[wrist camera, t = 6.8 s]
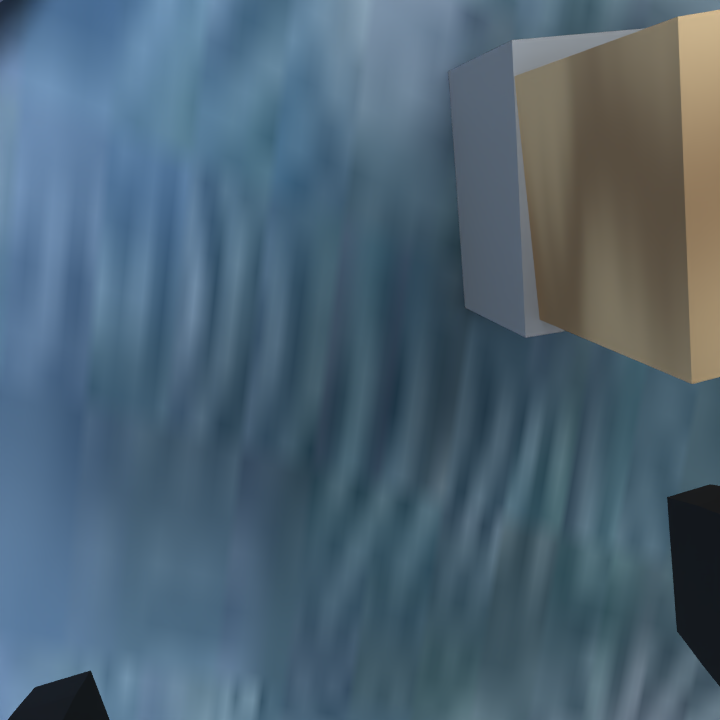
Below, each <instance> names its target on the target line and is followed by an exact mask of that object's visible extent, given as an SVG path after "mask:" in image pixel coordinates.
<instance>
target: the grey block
mask: <svg viewBox="0 0 720 720" xmlns="http://www.w3.org/2000/svg"><path fill="white" fill-rule="evenodd" d="M645 29H646V28H645ZM640 30H643V29H633V30H622V31H610V32H599V33H588V34H576V35H565V36H553V37H542V38H530V39H519V40H511V41H509V42H507V43H505V44H503V45H501V46H499V47H497V48H495V49H493V50H491V51H489V52H487V53H485V54H483V55H481V56H479V57H476V58H474V59H472V60H470V61H468V62H466V63H464V64H462V65H460V66H458V67H456V68H454V69H452V70H450V71H448V74H449V88H450V102H451V117H452V131H453V145H454V159H455V173H456V187H457V202H458V216H459V230H460V244H461V258H462V272H463V287H464V301H465V308H467V309H469V310H471V311H473V312H475V313H477V314H479V315H481V316H483V317H485V318H487V319H489V320H491V321H493V322H495V323H497V324H499V325H501V326H503V327H505V328H507V329H509V330H511V331H513V332H515V333H517V334H519V335H521V336H523V337H525V338H527V337H533V336H539V335H545V334H551V333H557V332H563V331H565V330H563V329H561V328H558V327H556V326H554V325H551V324H549V323H546V322H544V321H542V320H540V318H539V308H538V298H537V289H536V279H535V269H534V260H533V250H532V241H531V231H530V221H529V212H528V202H527V193H526V183H525V173H524V164H523V154H522V144H521V135H520V125H519V116H518V106H517V96H516V87H515V77H514V76H516V75H519V74H522V73H525V72H527V71H530V70H533V69H536V68H538V67H541V66H544V65H547V64H549V63H552V62H555V61H558V60H560V59H563V58H566V57H569V56H571V55H574V54H577V53H580V52H582V51H585V50H588V49H591V48H593V47H596V46H599V45H602V44H604V43H607V42H610V41H613V40H615V39H618V38H621V37H624V36H626V35H629V34H632V33H635V32H637V31H640Z"/></svg>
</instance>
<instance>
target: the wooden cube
mask: <svg viewBox="0 0 720 720" xmlns="http://www.w3.org/2000/svg"><path fill="white" fill-rule="evenodd" d="M514 77H515V87H516V96H517V106H518V116H519V125H520V135H521V144H522V154H523V164H524V173H525V183H526V193H527V202H528V212H529V221H530V231H531V241H532V250H533V260H534V269H535V279H536V289H537V298H538V308H539V318H540V320H542V321H544V322H546V323H549V324H551V325H554V326H556V327H558V328H561V329H563V330H565V331H568V332H570V333H573V334H575V335H577V336H580V337H582V338H584V339H587V340H589V341H591V342H594V343H596V344H599V345H601V346H603V347H606V348H608V349H610V350H613V351H615V352H617V353H620V354H622V355H625V356H627V357H629V358H632V359H634V360H636V361H639V362H641V363H643V364H646V365H648V366H651V367H653V368H655V369H658V370H660V371H662V372H665V373H667V374H669V375H672V376H674V377H677V378H679V379H681V380H684V381H686V382H688V383H691V384H694V383H698V382H702V381H706V380H709V379H713V378H717V377H720V10H716V11H710V12H704V13H698V14H692V15H686V16H679V17H676V18H673V19H670V20H668V21H665V22H662V23H659V24H657V25H654V26H651V27H648V28H646V29H643V30H640V31H637V32H635V33H632V34H629V35H626V36H624V37H621V38H618V39H615V40H613V41H610V42H607V43H604V44H602V45H599V46H596V47H593V48H591V49H588V50H585V51H582V52H580V53H577V54H574V55H571V56H569V57H566V58H563V59H560V60H558V61H555V62H552V63H549V64H547V65H544V66H541V67H538V68H536V69H533V70H530V71H527V72H525V73H522V74H519V75H516V76H514Z"/></svg>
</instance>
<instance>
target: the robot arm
mask: <svg viewBox="0 0 720 720" xmlns="http://www.w3.org/2000/svg"><path fill="white" fill-rule="evenodd" d="M667 501H668V515H669V528H670V542H671V556H672V569H673V583H674V596H675V610H676V624H677V632H678V633H679V634H680V636H681V637H682V638H683V640H684V641H685V642H686V643H687V645H688V646H689V647H690V649H691V650H692V651H693V653H694V654H695V655H696V657H697V658H698V659H699V661H700V662H701V663H702V665H703V666H704V667H705V669H706V670H707V671H708V672H709V674H710V675H711V676H712V677H713V679H714V680H715V681H716V682H717V684H718V685H719V686H720V486H716V485H706V486H703V487H700V488H696V489H693V490H690V491H687V492H683V493H680V494H677V495H673V496H670V497H667ZM8 720H109V717H108V715H107V712H106V709H105V707H104V704H103V701H102V699H101V696H100V694H99V691H98V688H97V686H96V683H95V680H94V678H93V675H92V673H91V671H88V672H84V673H81V674H78V675H74V676H71V677H68V678H64V679H61V680H58V681H54V682H51V683H48V684H44V685H41V686H38V687H35V688H34V689H33V690H32V692H31V693H30V694H29V695H28V696H27V697H26V698H25V699H24V701H23V702H22V703H21V704H20V705H19V707H18V708H17V709H16V710H15V711H14V713H13V714H12V715H11V716H10V718H9V719H8Z"/></svg>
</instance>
